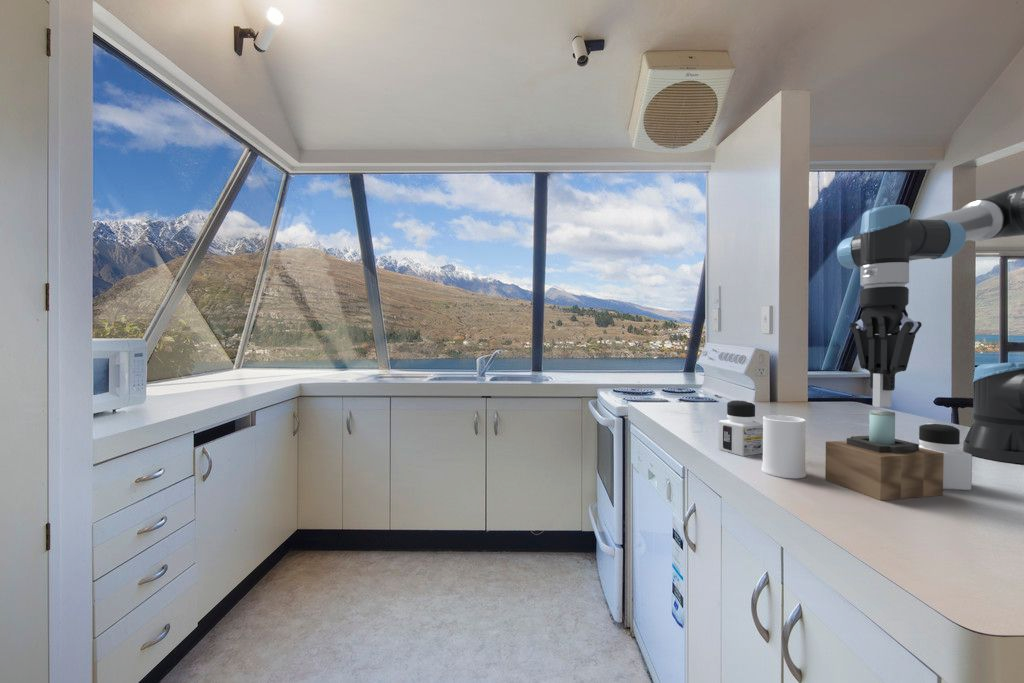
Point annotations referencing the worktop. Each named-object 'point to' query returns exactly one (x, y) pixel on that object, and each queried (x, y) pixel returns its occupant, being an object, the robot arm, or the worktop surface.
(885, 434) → the peg
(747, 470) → the worktop surface
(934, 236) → the robot arm
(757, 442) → the container
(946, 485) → the medicine bottle
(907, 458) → the socket block
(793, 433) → the mug
